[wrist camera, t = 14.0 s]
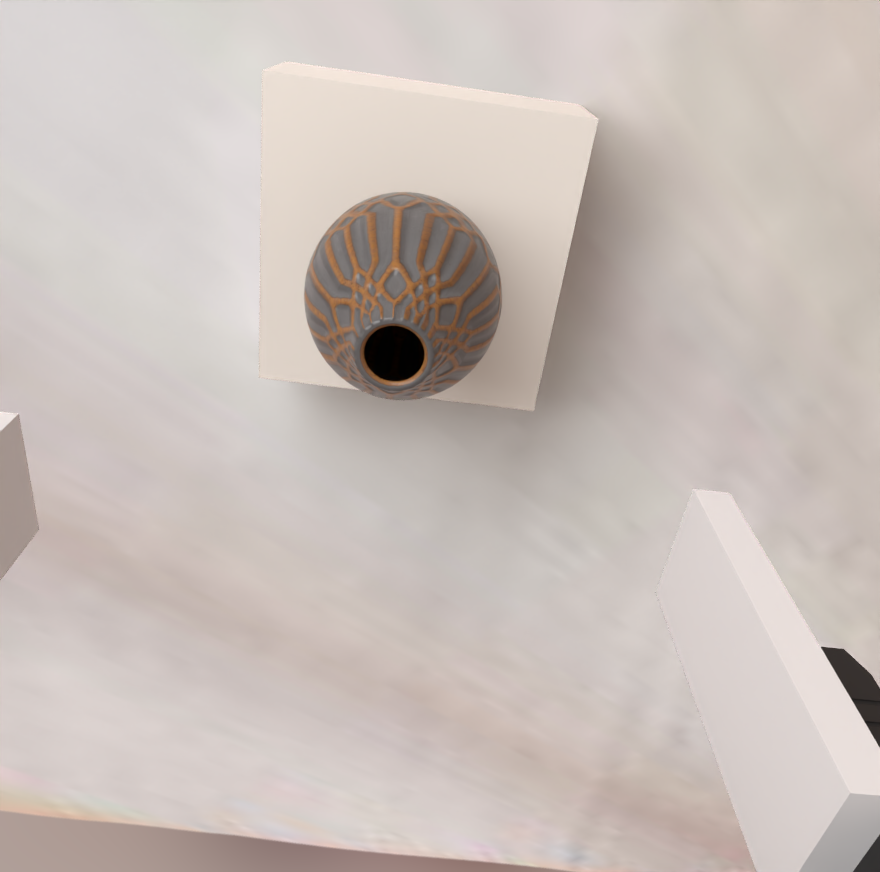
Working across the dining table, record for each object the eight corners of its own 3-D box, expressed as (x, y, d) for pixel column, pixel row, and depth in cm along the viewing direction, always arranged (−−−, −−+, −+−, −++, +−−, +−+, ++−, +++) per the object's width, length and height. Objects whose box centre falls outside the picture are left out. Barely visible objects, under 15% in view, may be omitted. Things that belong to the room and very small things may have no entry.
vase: (526, 297, 30) (551, 396, 22) (381, 373, 32) (358, 488, 24) (441, 139, 27) (437, 190, 20) (287, 232, 29) (227, 313, 21)
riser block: (281, 333, 36) (258, 377, 32) (288, 60, 30) (261, 70, 26) (523, 363, 37) (533, 411, 33) (577, 102, 31) (598, 119, 27)
